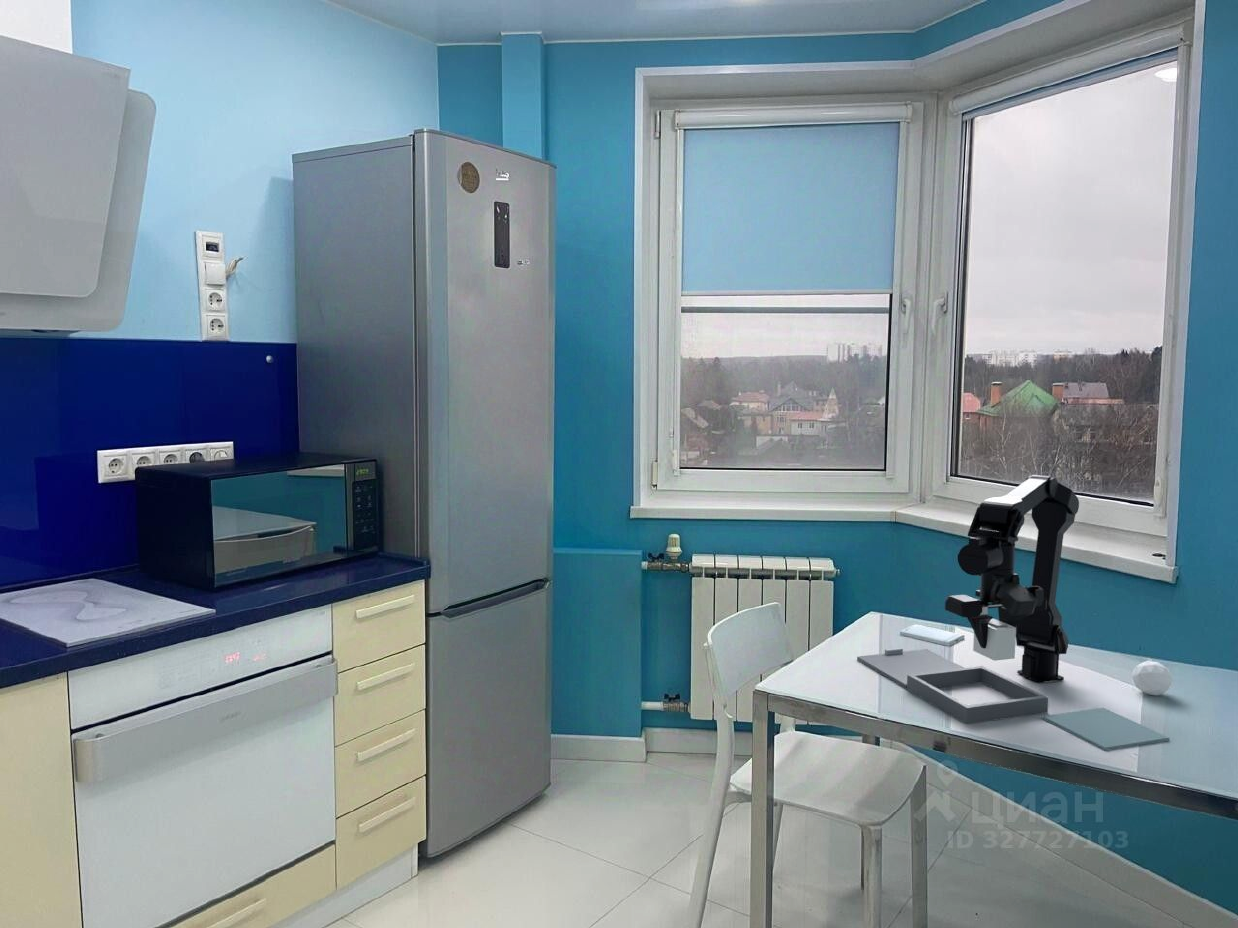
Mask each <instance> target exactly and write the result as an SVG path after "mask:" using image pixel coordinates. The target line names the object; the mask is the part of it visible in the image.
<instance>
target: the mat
mask: <svg viewBox="0 0 1238 928" xmlns="http://www.w3.org/2000/svg"><path fill="white" fill-rule="evenodd" d="M1042 720H1044V721H1047V722H1048V723H1050V724H1053V725H1054V726H1056V727H1058V728H1060V729H1062V730H1064V731H1066V732H1068V733H1069V734H1072V735H1073V736H1076V737H1078V738H1079V739H1081V740H1084V741H1085V742H1088V743H1089V744H1091V745H1094V746H1095V747H1097V748H1099V749H1101V750H1103V751H1109V750H1115V749H1123V748H1128V747H1129V748H1130V747H1135V746H1141V745H1147V744H1154V743H1160V742H1161V743H1162V742H1167V741H1170V737H1169V736H1167V735H1165V734H1162V733H1161V732H1158V731H1156V730H1154V729H1151V728H1149V727H1147V726H1145V725H1142V724H1140V723H1139V722H1136V721H1134V720H1132V719H1130V718H1128V717H1125V716H1123V715H1120V714H1119V713H1116V712H1114V711H1113V710H1112V711H1111V710H1110V709H1107V708H1105V707H1098V708H1090V709H1084V710H1076V711H1068V712H1062V713H1061V712H1060V713H1054V714H1048V715H1042Z"/></svg>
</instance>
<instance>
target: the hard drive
mask: <svg viewBox="0 0 1238 928" xmlns="http://www.w3.org/2000/svg"><path fill="white" fill-rule="evenodd" d="M899 636H903V637H908V638H913V639H916V640H921V641H926V642H929V643H933V644H938V645H942V646H946V647H951V646H953V645H954V644H956V643H958V642H960V641H963V640H965V634H960V633H956V632H952V631H947V630H944V629H943V630H942V629H939V628H934V627H929V626H925V625H920V624H916V623H915V624H913V625H910V626H908V627H906V628H904V629H901V630H900V631H899Z"/></svg>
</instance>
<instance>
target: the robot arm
mask: <svg viewBox="0 0 1238 928" xmlns="http://www.w3.org/2000/svg"><path fill="white" fill-rule="evenodd" d="M1079 507H1080V501H1079V497H1078V496H1077V495H1076V494H1075V493H1074V491H1073V490H1072V489H1070V488H1069V487H1067V486H1065V485H1063V484H1062V483H1060V482H1059V481H1058V480H1057V479H1056V477H1052V476H1048V475H1039V474H1032V475H1028V476H1027V477H1026V479H1025V481H1023V482H1022V483H1021V484H1019V485H1018V486H1017V487H1015V488H1014V489H1013V490H1011V491H1010V492H1008V493H1006V494H1004V495H1003V496H996V497H990V498H987V499H984V500H982V502H981V503H980V504H979V505H978V507H976V511H975V513H974V516H973V519H972V521H971V524H970V527H969V529H968V532H967V537H969V538H968V544H966V545H964V546H962V547H961V548H960V550H959V552H958V554H957V563H958V566H959V567H960V569H961V570H962V571H963V572H964V573H966V574H967V575H970V576H980V580H979V581H980V585H979V589H976V590H975V594H974V595H975V596H976V597H978V598H974V597H971V596H969V595H967V594H955V595H949V596H947V598H946V599H945V601H944V602H945V603H944V606H945V607H944V610H945V611H948V612H950V613H952V614H955V615H957V616H959V617H962V618H967V621H968V622H969V623H970V626H971V628H972V630H973V634H974V633H975V635H976V637H977V640H978V642H979V644H980V646H981V647H982V648H986V645H987V634H988V623H989V621H990V620H991V619H994V617H993V616H992V615H990V614H989V609H996V608H997V612H998V613H997V614H998V621H1001V622H1003V623H1006V624H1008V625H1011V626H1013V627H1016V639H1015V643H1016V646H1018V647H1023V654H1022V655H1021V656H1022V658H1021V659H1022V660H1021V669H1019V670H1018V669H1017V672H1016V673H1017V674H1019V675H1021V676H1024V677H1025V678H1028V679H1030V680H1032V681H1034V682H1036V683H1040V684H1042V683H1047V682H1048V683H1049V682H1055V681H1064V680H1065V678H1064V676H1062V675H1061V674H1060V675H1059V665H1060V664H1059V663H1060V655H1066V654H1067V653H1068V652H1067V651H1068V648H1069V638H1068V636H1067V634H1066V632H1065V630H1064V628H1063V626H1062V624H1063V623H1062V622H1063V615H1061V612H1060V611H1059V608H1058V607H1057V605H1056V599H1057V589H1058V582H1059V575H1060V574H1059V573H1060V566H1061V559H1062V558H1061V557H1062V550H1063V541H1064V535H1065V533H1066V532H1067V531H1068V530H1069V528H1071V526H1073V524H1074V523H1075V518H1076V514H1077V513H1078V512H1079ZM1030 511H1031V519H1032V521H1033V522H1034V525H1035V527H1036V529H1037V537H1036V545H1035V546H1036V547H1035V554H1034V563H1033V568H1032V569H1033V570H1032V577H1031V586H1029V587H1028V586H1022V584H1020V577H1019V576H1020V575H1019V574H1018V573H1015V554H1016V542H1018V541H1019V536H1018V535H1019V533H1020V531H1021V528H1022V527H1023V525H1024V524H1025V515H1026V514H1027V513H1028V512H1030Z"/></svg>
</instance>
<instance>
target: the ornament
mask: <svg viewBox="0 0 1238 928" xmlns="http://www.w3.org/2000/svg"><path fill="white" fill-rule="evenodd" d="M1132 680H1133V682H1134V685H1135V687H1136V688H1137V689H1139V690H1140V692H1142V693H1144V694H1145V695H1150V696H1151V695H1152V696H1160V695H1162V694H1165V693H1167V691H1168V690H1169V689H1170V687H1172V676H1171V673H1170V671H1169V669H1168V668H1167V667H1165V666H1164V665H1163V664H1162V663H1161V662H1159V661H1152V659H1151V658H1147V660H1146V661H1143V662H1142V663H1139V664H1137V665H1136V666H1135V667H1134V669H1133V670H1132Z"/></svg>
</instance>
